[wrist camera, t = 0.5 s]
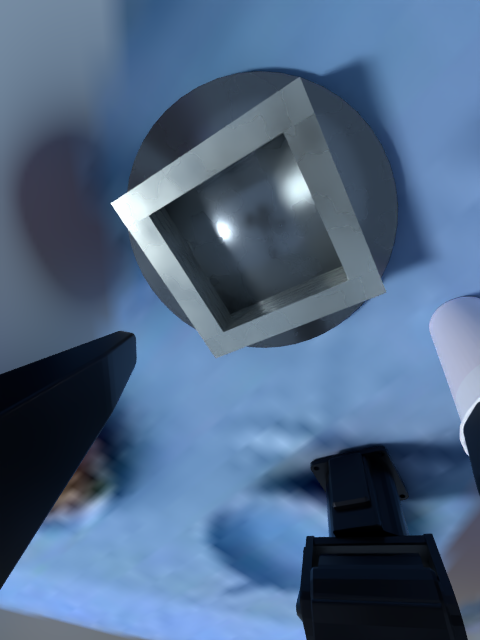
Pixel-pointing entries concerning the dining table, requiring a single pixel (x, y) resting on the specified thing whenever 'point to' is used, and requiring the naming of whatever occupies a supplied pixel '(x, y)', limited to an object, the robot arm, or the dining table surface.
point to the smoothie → (459, 352)
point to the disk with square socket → (261, 210)
